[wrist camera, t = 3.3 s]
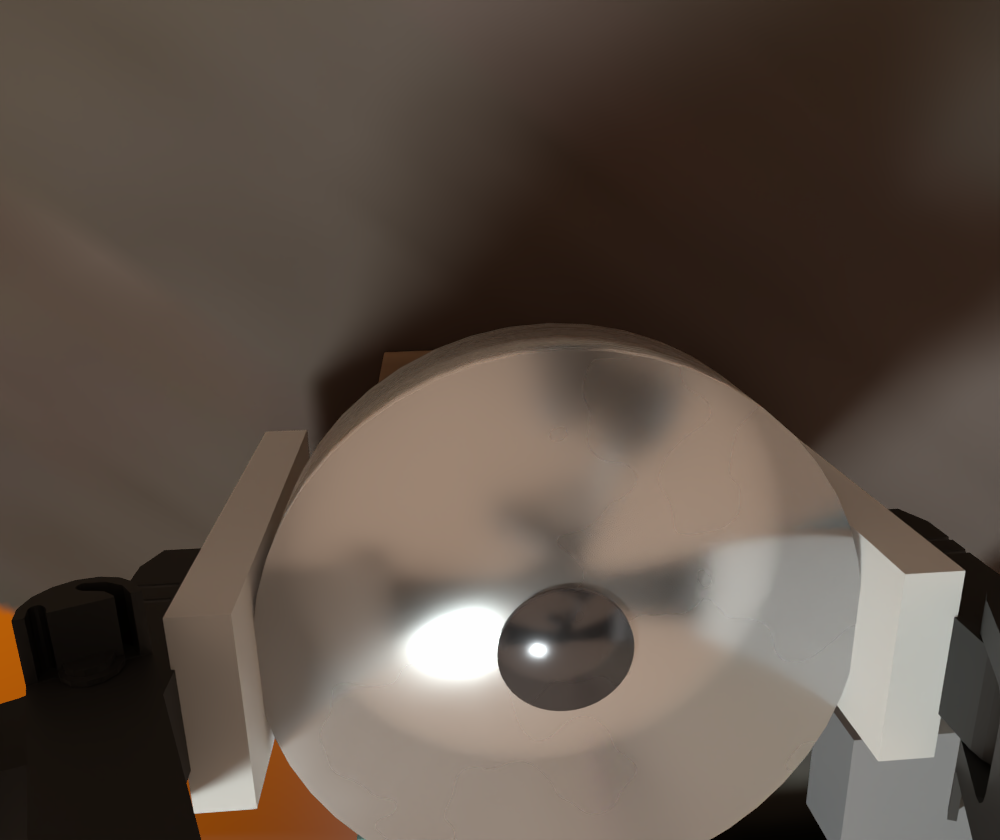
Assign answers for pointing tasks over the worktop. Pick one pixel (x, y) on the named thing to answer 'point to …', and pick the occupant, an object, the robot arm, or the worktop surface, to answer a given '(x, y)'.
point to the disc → (554, 597)
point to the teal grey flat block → (881, 789)
